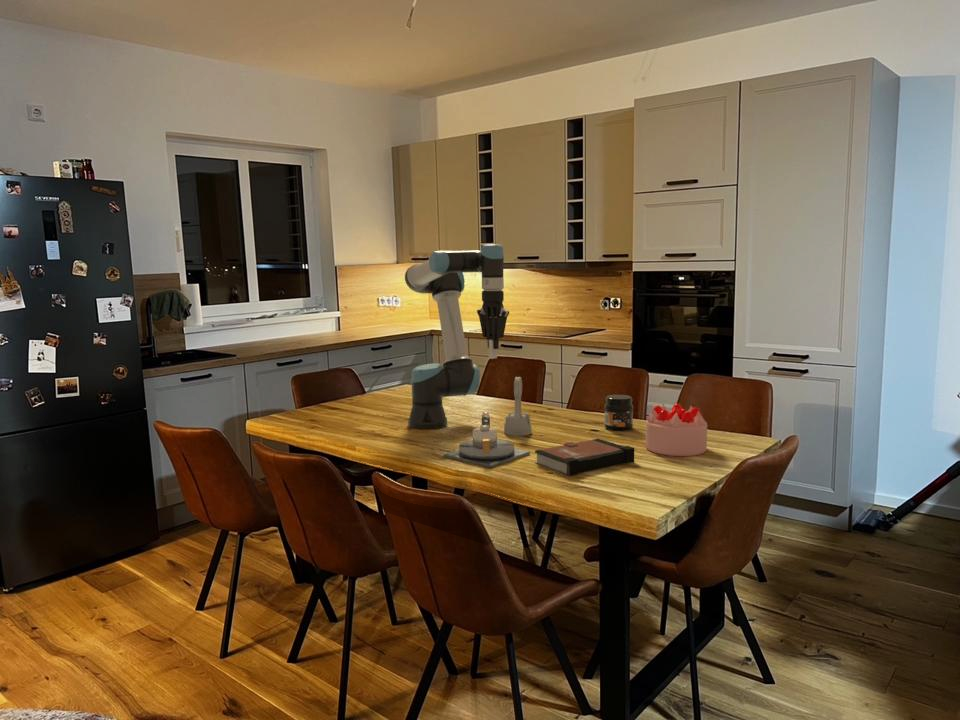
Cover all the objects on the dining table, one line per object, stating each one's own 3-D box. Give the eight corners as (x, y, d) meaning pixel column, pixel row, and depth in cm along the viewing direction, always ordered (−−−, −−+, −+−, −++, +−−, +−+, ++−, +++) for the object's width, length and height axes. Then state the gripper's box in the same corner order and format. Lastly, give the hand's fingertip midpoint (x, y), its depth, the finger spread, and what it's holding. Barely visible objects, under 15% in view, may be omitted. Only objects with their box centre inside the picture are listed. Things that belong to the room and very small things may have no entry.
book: (596, 451, 243) (596, 436, 242) (634, 463, 228) (634, 447, 227) (533, 464, 229) (533, 448, 228) (569, 477, 214) (569, 461, 213)
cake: (633, 447, 245) (634, 406, 243) (672, 438, 257) (673, 399, 255) (680, 460, 229) (681, 416, 227) (719, 450, 241) (721, 408, 239)
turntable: (460, 444, 246) (460, 427, 245) (513, 444, 245) (513, 427, 245) (457, 459, 228) (457, 440, 227) (515, 459, 228) (514, 440, 227)
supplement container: (600, 429, 271) (600, 398, 269) (609, 424, 280) (609, 393, 278) (628, 432, 266) (628, 400, 264) (636, 426, 275) (636, 395, 273)
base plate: (443, 456, 236) (443, 454, 236) (483, 444, 251) (483, 441, 251) (490, 468, 223) (490, 464, 223) (529, 454, 238) (529, 451, 238)
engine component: (502, 435, 264) (529, 436, 262) (501, 379, 262) (529, 380, 260) (507, 428, 275) (533, 429, 273) (506, 374, 272) (533, 375, 270)
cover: (474, 449, 232) (474, 429, 231) (470, 443, 240) (470, 423, 239) (499, 447, 233) (499, 428, 232) (494, 442, 241) (494, 423, 240)
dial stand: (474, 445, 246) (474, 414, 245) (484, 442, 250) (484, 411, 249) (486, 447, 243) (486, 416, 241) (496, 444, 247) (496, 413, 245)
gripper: (471, 290, 251) (472, 357, 254) (500, 291, 242) (500, 361, 245) (485, 289, 256) (485, 355, 260) (514, 290, 248) (514, 358, 251)
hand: (493, 358), depth 253 cm, fingers closed
